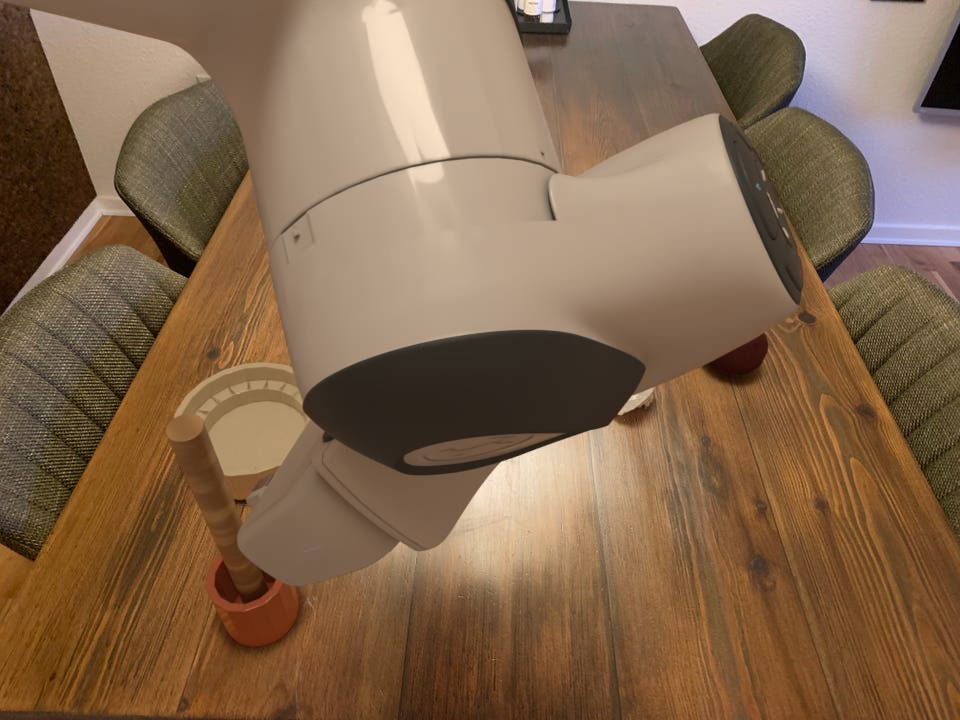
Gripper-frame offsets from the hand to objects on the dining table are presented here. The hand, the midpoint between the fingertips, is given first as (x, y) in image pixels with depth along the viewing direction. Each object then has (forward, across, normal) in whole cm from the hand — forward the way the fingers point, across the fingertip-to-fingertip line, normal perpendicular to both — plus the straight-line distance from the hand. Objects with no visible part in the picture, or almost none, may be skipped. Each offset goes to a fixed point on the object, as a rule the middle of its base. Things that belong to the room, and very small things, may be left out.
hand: (301, 437), depth 43 cm
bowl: (+34, -17, +7) cm, 39 cm away
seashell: (+7, -37, +34) cm, 51 cm away
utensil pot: (+27, 0, +14) cm, 30 cm away
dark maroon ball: (0, -47, +42) cm, 63 cm away
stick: (+26, 0, +14) cm, 30 cm away
